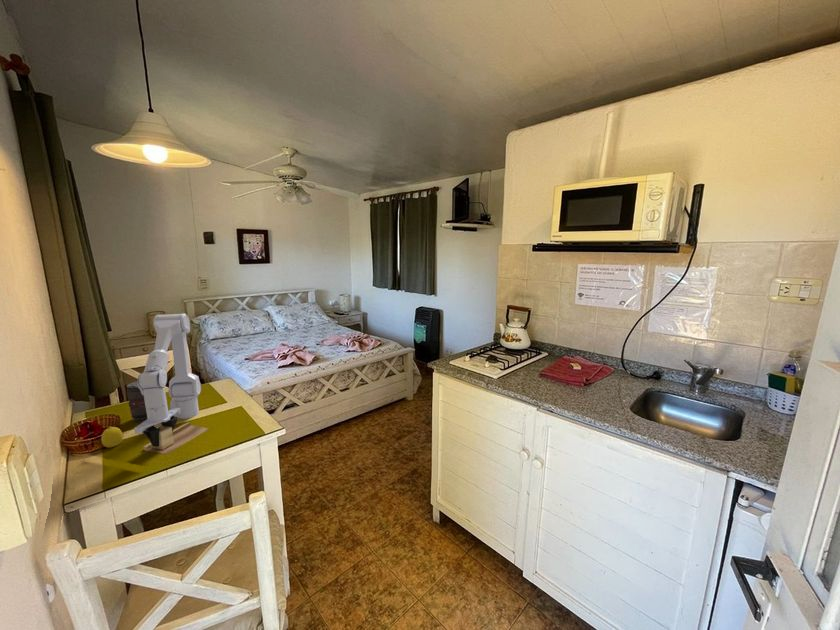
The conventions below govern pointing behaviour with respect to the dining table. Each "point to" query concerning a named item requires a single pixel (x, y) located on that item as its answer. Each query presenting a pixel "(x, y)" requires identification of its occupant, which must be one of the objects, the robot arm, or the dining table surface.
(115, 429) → the lemon
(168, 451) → the board
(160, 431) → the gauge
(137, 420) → the camera lens
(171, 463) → the dining table surface
